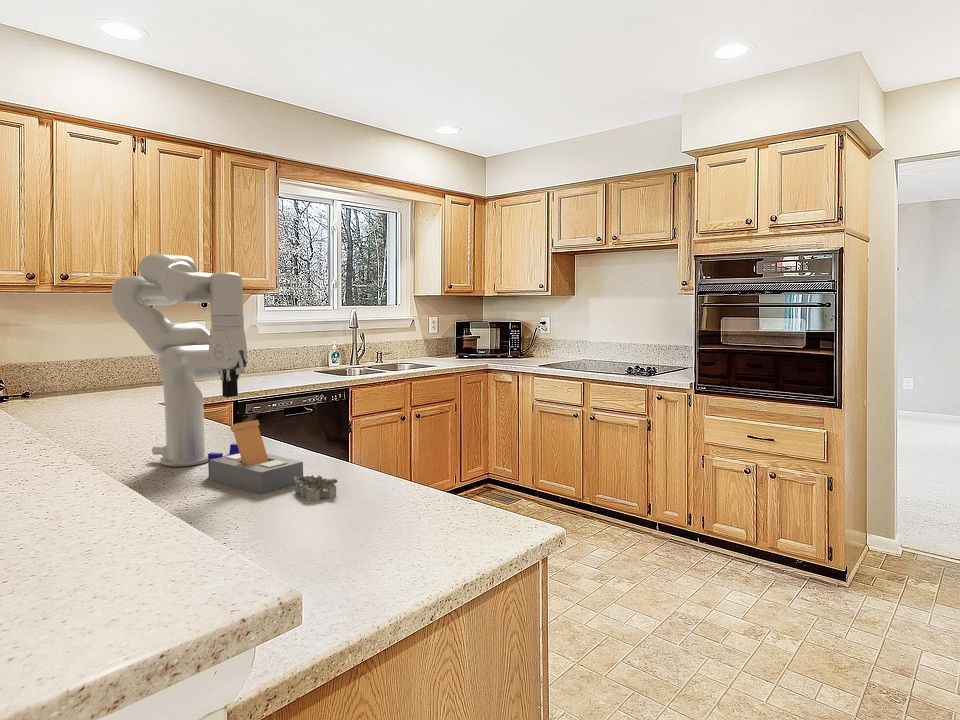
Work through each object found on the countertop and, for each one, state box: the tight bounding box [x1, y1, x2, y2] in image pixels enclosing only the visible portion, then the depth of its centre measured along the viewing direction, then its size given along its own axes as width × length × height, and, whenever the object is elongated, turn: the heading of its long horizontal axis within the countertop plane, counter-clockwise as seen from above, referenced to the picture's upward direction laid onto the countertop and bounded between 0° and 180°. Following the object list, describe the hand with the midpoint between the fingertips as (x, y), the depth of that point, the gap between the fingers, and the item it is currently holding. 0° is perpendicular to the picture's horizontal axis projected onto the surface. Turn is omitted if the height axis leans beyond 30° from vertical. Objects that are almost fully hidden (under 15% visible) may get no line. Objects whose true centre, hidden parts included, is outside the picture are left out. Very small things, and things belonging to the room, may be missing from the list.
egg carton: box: [294, 474, 339, 501], centre depth 144 cm, size 11×8×4 cm
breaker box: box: [209, 453, 304, 495], centre depth 154 cm, size 20×12×5 cm, turn 56°
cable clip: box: [207, 442, 240, 478], centre depth 163 cm, size 12×4×6 cm, turn 172°
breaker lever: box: [230, 419, 269, 465], centre depth 154 cm, size 2×6×12 cm, turn 145°
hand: (230, 396), depth 158 cm, fingers closed
